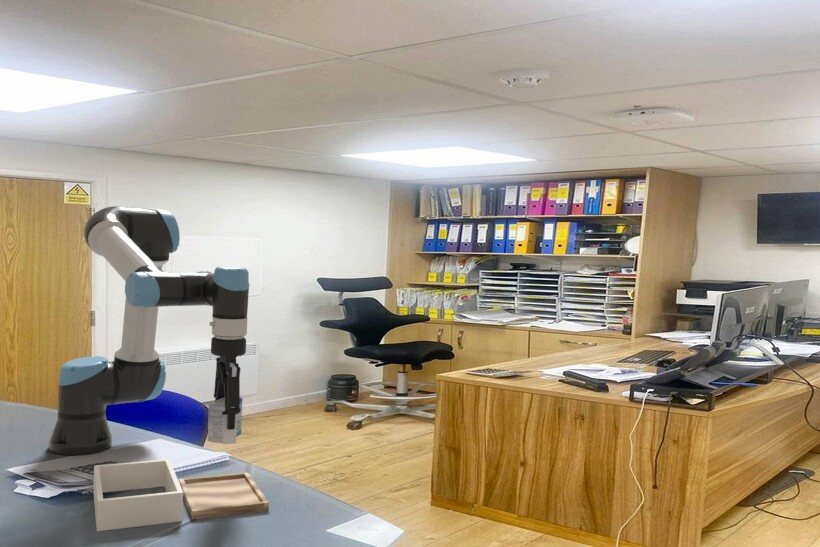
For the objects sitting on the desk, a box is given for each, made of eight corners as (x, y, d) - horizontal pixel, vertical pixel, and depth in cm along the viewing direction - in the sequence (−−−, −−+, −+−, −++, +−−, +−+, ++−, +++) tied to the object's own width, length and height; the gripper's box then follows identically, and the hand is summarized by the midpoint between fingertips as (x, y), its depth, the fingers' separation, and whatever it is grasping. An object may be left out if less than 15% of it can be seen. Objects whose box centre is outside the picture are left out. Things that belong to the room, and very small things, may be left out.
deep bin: (93, 491, 157) (94, 465, 157) (168, 484, 164) (169, 459, 164) (96, 531, 138) (97, 501, 137) (182, 521, 145) (183, 492, 144)
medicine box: (225, 444, 153) (227, 404, 152) (206, 441, 154) (208, 402, 153) (241, 434, 161) (243, 397, 160) (223, 432, 161) (225, 395, 161)
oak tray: (178, 486, 163) (178, 478, 163) (247, 479, 170) (247, 472, 170) (192, 519, 145) (192, 511, 145) (268, 510, 152) (268, 502, 152)
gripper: (203, 329, 164) (199, 425, 165) (221, 344, 145) (216, 452, 146) (235, 329, 167) (231, 423, 168) (257, 344, 148) (252, 449, 149)
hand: (224, 437), depth 157 cm, fingers closed on medicine box, 9 cm apart
